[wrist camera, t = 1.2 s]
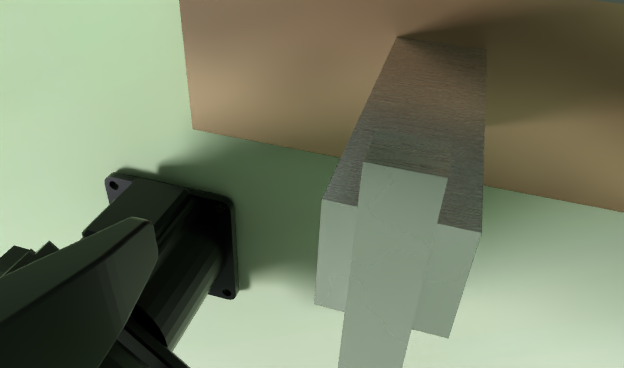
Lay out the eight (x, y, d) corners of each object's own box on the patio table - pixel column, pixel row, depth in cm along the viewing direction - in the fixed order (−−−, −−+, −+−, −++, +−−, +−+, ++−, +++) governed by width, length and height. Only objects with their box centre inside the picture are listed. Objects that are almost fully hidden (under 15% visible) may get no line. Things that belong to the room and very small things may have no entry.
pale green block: (457, 168, 18) (429, 426, 10) (379, 153, 19) (298, 388, 11) (501, -5, 15) (507, 189, 7) (404, -16, 15) (309, 151, 8)
